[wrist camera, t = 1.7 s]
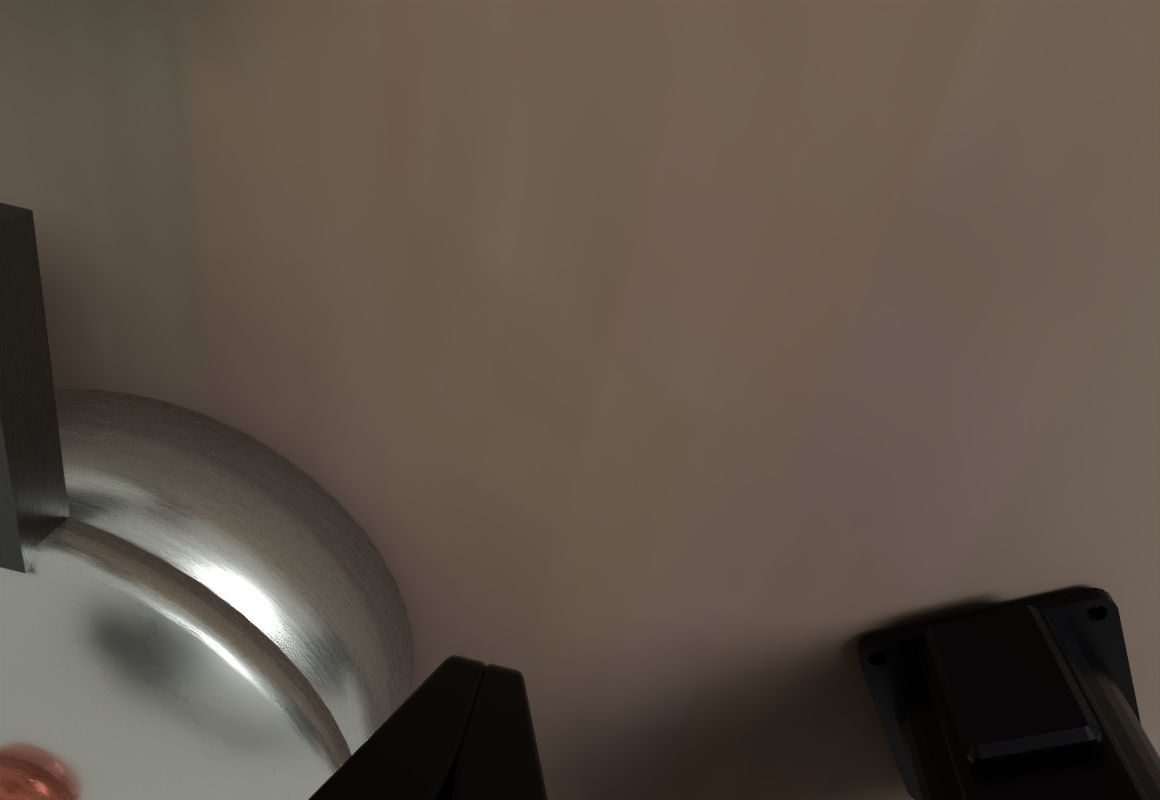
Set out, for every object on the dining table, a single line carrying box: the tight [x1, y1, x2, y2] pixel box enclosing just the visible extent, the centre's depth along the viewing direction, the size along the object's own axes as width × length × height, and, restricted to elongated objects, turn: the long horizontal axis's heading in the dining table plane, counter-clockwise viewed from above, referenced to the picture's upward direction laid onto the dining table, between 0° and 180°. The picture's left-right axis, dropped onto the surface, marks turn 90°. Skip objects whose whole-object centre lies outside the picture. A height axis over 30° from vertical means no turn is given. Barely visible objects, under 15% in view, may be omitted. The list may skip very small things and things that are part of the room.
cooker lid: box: [0, 203, 351, 800], centre depth 19 cm, size 23×17×2 cm
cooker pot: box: [54, 390, 413, 755], centre depth 23 cm, size 22×16×5 cm
